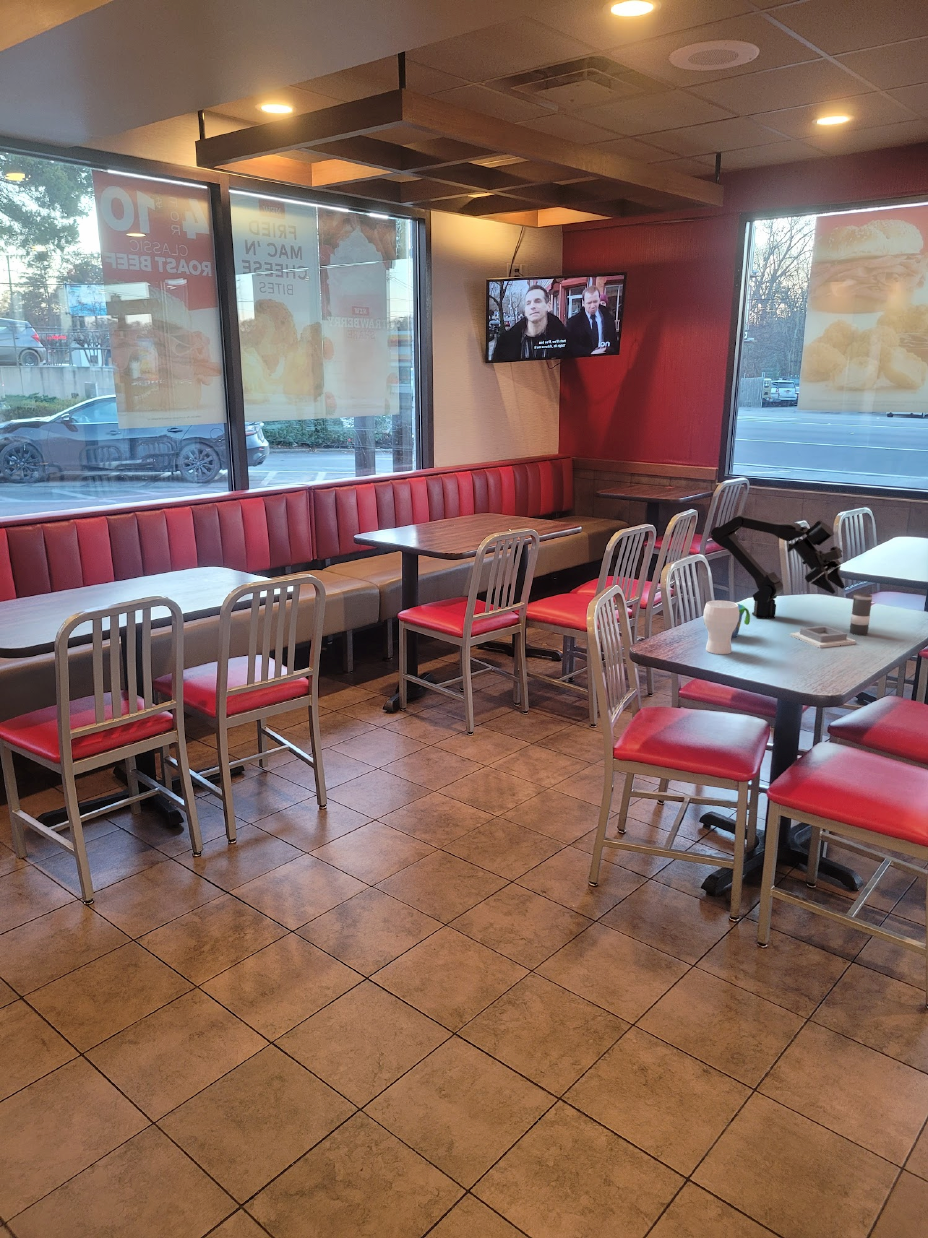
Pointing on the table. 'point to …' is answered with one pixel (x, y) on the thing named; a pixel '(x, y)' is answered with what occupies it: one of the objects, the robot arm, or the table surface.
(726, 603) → the cup
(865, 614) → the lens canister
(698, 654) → the table surface
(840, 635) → the square framed plate
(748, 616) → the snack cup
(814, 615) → the table surface
